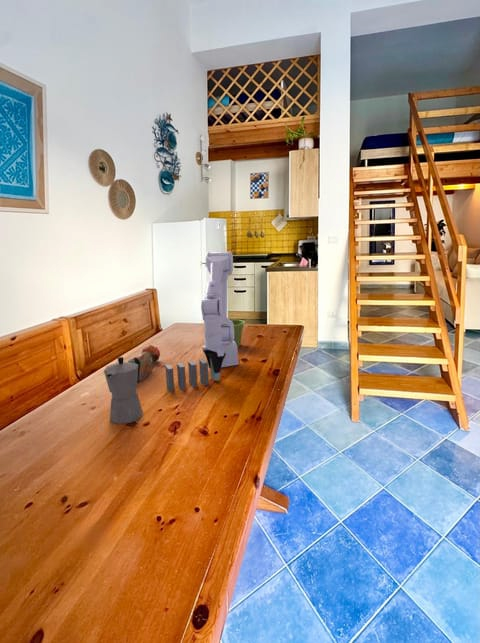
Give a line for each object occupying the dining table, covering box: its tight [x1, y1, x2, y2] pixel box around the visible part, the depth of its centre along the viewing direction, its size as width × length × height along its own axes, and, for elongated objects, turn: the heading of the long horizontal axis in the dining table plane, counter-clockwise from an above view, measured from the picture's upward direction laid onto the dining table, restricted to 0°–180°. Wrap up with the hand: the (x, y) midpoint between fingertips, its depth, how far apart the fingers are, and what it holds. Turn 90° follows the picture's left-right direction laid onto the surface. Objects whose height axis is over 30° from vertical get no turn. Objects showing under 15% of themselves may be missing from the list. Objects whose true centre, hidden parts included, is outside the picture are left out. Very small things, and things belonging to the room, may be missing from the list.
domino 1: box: [164, 364, 176, 393], centre depth 127 cm, size 2×4×8 cm, turn 23°
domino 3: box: [187, 360, 199, 388], centre depth 130 cm, size 2×4×8 cm, turn 23°
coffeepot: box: [103, 356, 144, 425], centre depth 108 cm, size 15×9×18 cm, turn 163°
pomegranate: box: [141, 344, 161, 363], centre depth 155 cm, size 7×7×10 cm
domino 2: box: [176, 362, 187, 391], centre depth 128 cm, size 2×4×8 cm, turn 23°
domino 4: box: [198, 358, 210, 386], centre depth 132 cm, size 2×4×8 cm, turn 23°
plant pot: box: [221, 319, 246, 348], centre depth 173 cm, size 12×12×11 cm
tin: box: [133, 351, 154, 382], centre depth 140 cm, size 15×3×8 cm, turn 168°
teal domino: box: [210, 359, 220, 381], centre depth 133 cm, size 2×4×8 cm, turn 24°
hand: (214, 370), depth 133 cm, fingers closed on teal domino, 4 cm apart
